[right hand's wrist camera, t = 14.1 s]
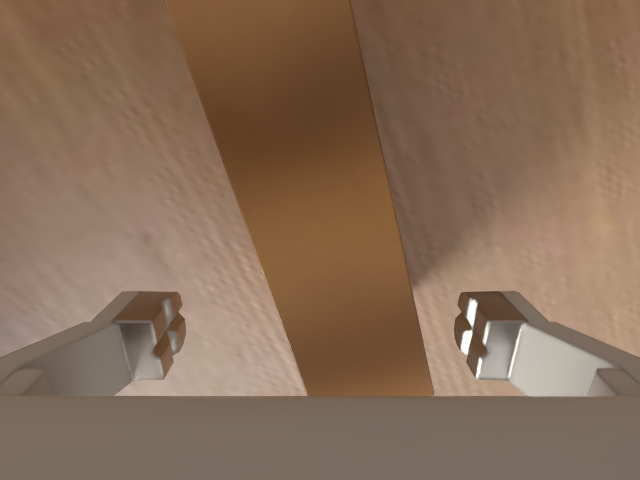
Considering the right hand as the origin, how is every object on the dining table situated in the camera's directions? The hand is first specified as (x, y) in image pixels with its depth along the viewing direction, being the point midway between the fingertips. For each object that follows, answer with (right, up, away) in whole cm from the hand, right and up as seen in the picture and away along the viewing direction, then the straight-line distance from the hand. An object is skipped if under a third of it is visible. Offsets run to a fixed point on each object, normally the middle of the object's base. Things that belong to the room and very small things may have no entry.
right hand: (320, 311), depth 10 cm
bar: (-1, +9, +8) cm, 12 cm away
